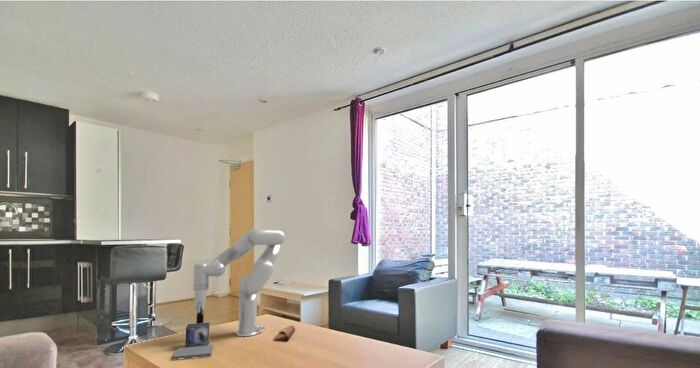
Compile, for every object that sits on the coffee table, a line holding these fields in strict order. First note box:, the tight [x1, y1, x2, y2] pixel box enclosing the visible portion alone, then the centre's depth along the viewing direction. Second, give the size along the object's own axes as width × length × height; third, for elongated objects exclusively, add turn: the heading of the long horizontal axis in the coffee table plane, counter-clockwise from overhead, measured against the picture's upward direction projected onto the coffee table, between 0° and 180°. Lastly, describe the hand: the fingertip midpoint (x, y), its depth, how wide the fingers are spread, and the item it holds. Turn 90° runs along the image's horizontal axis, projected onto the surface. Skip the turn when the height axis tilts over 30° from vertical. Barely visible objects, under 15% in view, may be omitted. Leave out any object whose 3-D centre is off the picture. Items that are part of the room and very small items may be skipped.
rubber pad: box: [172, 344, 214, 360], centre depth 174 cm, size 16×12×2 cm
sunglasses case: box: [272, 325, 296, 343], centre depth 200 cm, size 18×7×7 cm
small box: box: [184, 322, 210, 347], centre depth 185 cm, size 11×6×10 cm, turn 105°
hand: (199, 322), depth 194 cm, fingers closed
